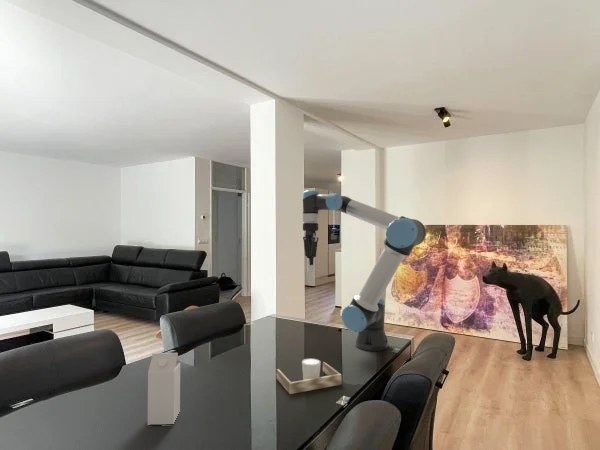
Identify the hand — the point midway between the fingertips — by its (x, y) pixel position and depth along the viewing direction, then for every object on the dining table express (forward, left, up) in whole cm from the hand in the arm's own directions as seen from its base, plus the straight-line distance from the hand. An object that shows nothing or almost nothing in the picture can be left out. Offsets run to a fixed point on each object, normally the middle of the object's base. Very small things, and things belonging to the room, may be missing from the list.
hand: (310, 271), depth 176 cm
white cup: (+18, +40, -35) cm, 56 cm away
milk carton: (+68, +48, -35) cm, 90 cm away
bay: (+19, +40, -34) cm, 56 cm away
